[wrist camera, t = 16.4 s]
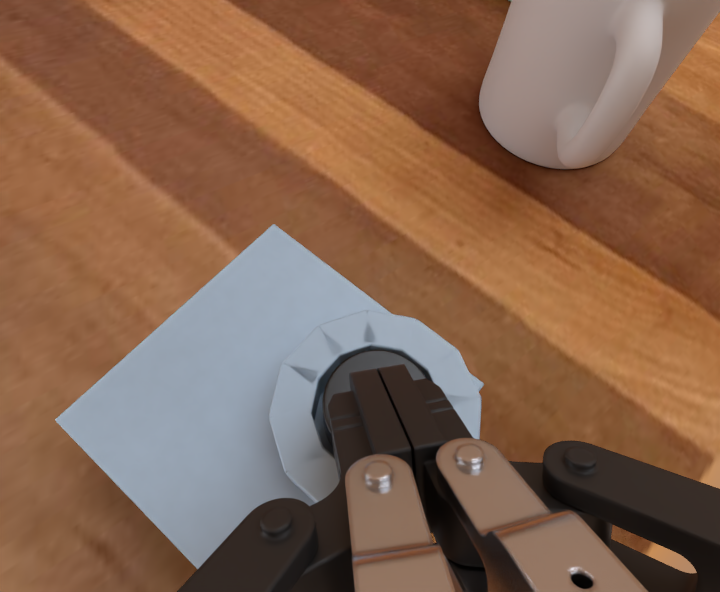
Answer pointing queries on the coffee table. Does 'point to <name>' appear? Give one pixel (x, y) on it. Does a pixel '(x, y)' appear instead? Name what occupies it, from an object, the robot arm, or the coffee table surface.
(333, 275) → the button box
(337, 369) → the button
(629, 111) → the mug
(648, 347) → the coffee table surface
